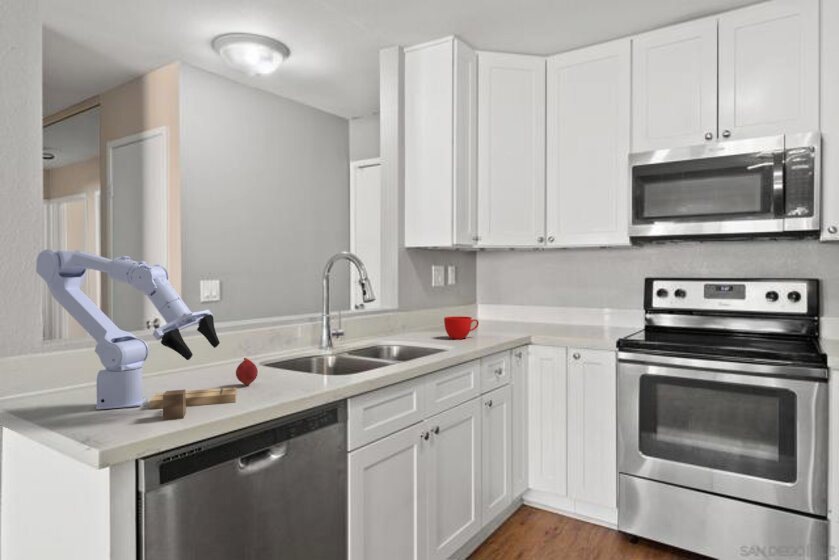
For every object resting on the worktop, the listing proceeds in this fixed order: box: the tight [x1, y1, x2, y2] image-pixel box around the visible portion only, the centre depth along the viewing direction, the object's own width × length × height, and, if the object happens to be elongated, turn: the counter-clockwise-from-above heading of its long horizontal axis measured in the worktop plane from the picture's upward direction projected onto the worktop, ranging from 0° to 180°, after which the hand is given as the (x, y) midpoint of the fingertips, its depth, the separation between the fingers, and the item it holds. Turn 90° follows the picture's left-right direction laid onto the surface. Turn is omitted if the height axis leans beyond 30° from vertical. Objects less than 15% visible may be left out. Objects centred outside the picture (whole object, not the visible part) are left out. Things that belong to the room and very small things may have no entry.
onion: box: [235, 357, 258, 387], centre depth 146 cm, size 6×6×8 cm
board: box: [149, 386, 238, 410], centre depth 128 cm, size 19×8×2 cm, turn 108°
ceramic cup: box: [443, 316, 479, 340], centre depth 244 cm, size 13×17×10 cm
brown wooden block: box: [162, 389, 187, 421], centre depth 117 cm, size 4×9×6 cm, turn 18°
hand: (204, 351), depth 121 cm, fingers open, 7 cm apart
